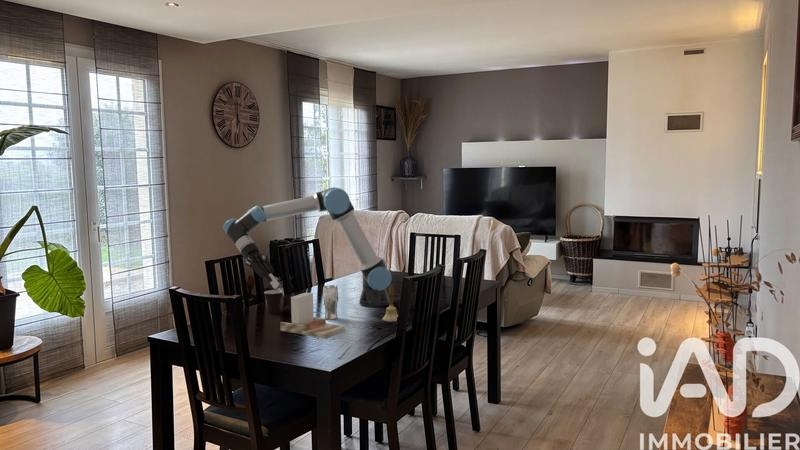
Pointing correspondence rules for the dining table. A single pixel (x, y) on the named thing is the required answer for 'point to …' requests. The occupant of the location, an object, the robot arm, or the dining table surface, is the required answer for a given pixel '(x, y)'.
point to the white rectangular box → (302, 308)
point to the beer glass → (330, 301)
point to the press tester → (312, 328)
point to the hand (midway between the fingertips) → (277, 286)
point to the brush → (391, 308)
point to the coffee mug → (273, 301)
